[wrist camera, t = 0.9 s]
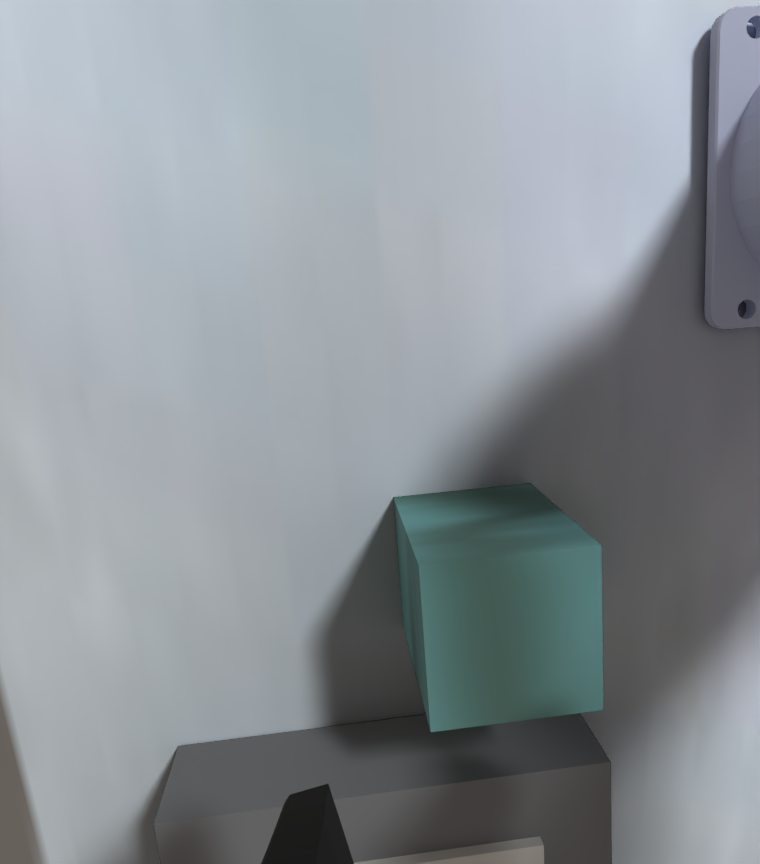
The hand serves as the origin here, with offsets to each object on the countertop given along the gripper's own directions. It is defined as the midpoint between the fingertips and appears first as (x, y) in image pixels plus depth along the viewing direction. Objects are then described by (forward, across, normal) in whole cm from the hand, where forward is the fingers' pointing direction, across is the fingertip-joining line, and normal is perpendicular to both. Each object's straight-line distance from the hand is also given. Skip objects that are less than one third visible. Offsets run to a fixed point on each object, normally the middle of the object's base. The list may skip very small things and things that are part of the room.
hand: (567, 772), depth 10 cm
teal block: (+10, 0, 0) cm, 10 cm away
